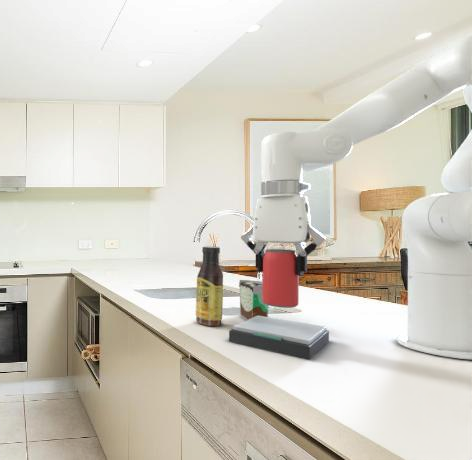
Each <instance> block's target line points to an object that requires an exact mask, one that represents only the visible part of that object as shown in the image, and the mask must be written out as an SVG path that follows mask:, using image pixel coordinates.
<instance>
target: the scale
mask: <svg viewBox="0 0 472 460" xmlns="http://www.w3.org/2000/svg"><path fill="white" fill-rule="evenodd" d="M228 342H231V343H233V344H239V345H243V346H247V347H252V348H256V349H260V350H265V351H268V352H269V351H270V352H273V353H278V354H282V355H288V356H291V357H295V358H301V359H305V360H311V359H312V358H313V357H314V356H315V355H316V354H317V353H318V352H319V351H320V350H322V349H323V348H324V347H325V346H326V345H327V344H328V343H329V342H330V330H328V329H327V326H324V325H318V324H314V323H313V324H312V323H307V322H300V321H294V320H289V319H282V318H277V317H276V318H275V317H270V316H268V317H264V316H255V317H253V318H251V319H249V320H246V319H245V320H244V321H242V322H239V323H238V324H237V323H236V324H235V325H233V328H232V329H230V330H228Z"/></svg>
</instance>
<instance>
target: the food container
mask: <svg viewBox="0 0 472 460" xmlns="http://www.w3.org/2000/svg"><path fill="white" fill-rule="evenodd" d="M238 287H239V311H240V312H239V314H240V315H239V316H240V317H241V318H243V319H244V320H245V321H246V320H249V319H251V318H253V317H255V316H264V317H269V308H270V306H269V305H267V304H265V303H264V302H263V300H262V295H263V281H257V280H250V279H239V281H238Z"/></svg>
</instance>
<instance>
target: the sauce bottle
mask: <svg viewBox="0 0 472 460" xmlns="http://www.w3.org/2000/svg"><path fill="white" fill-rule="evenodd" d="M201 251H202V263H201V266H200V269H199V271H198V273H197V277H196V294H195V295H196V297H195V316H196V317H195V319H196V323H198V324H200V325H203V326H206V327H208V326H209V327H216V326H217V327H218V326H221V325H222V321H223V320H222V319H223V307H224V304H223V303H224V273H223V271H222V269H221V268H220V261H219V258H220V257H219V256H220V252H221V248H220V247H219V246H211V245H206V246H205V245H203V246H202V250H201Z"/></svg>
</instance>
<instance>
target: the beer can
mask: <svg viewBox="0 0 472 460" xmlns="http://www.w3.org/2000/svg"><path fill="white" fill-rule="evenodd" d="M296 251H297V250H295V249H276V248H275V249H273V248H272V249H271V248H270V249H265V250H264V257H263V272H262V282H263V295H262V300H263V302H264V303H265V304H267V305H269V307H275V308H284V309H292V308H297V306H299V297H300V296H299V291H300V290H299V284H300V283H299V279H300V275H296V257H297V256H298V254H297V253H296Z"/></svg>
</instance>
